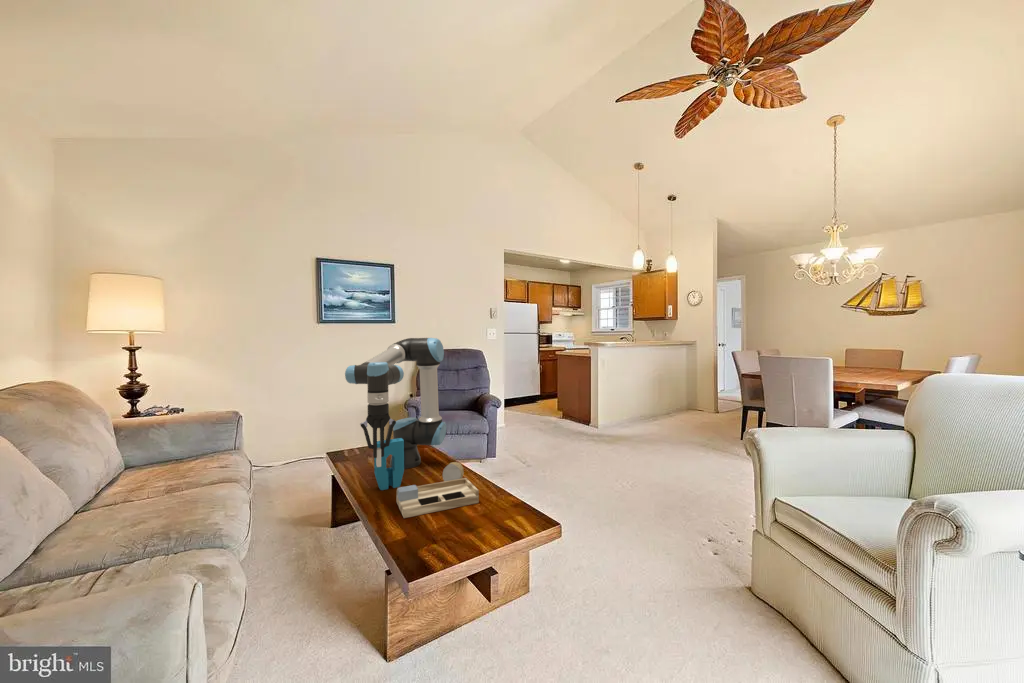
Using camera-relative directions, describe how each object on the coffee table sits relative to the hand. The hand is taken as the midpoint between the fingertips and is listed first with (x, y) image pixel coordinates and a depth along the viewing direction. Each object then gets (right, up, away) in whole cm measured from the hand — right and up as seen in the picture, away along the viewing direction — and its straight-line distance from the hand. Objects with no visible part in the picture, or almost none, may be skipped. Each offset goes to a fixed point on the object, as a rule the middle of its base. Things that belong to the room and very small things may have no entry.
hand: (378, 465), depth 148 cm
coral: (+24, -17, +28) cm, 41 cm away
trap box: (+21, -17, +7) cm, 28 cm away
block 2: (-3, -17, +24) cm, 29 cm away
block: (+10, -14, +5) cm, 18 cm away
